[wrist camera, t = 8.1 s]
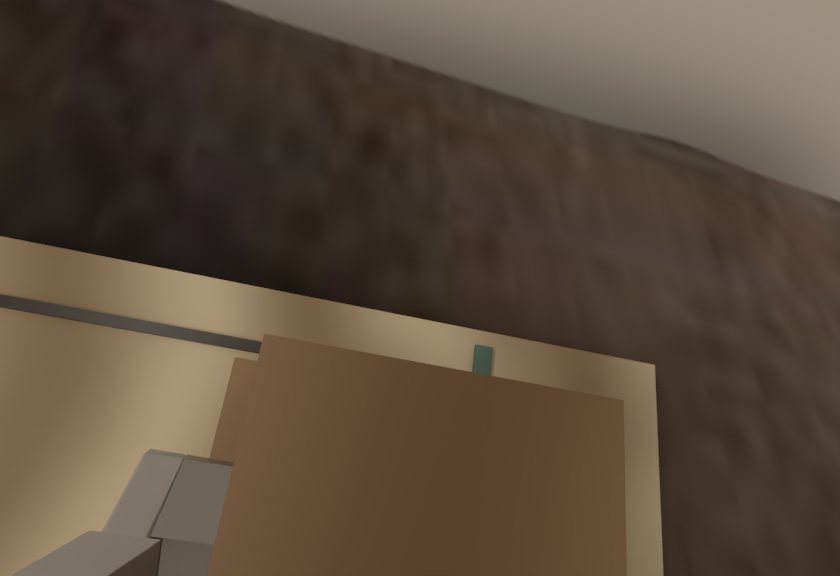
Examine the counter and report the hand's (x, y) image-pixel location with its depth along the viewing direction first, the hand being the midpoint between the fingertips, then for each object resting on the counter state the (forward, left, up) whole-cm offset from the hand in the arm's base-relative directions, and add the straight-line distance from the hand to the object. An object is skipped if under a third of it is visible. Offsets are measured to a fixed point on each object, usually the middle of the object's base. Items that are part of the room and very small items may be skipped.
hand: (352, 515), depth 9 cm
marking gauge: (0, -1, -6) cm, 6 cm away
